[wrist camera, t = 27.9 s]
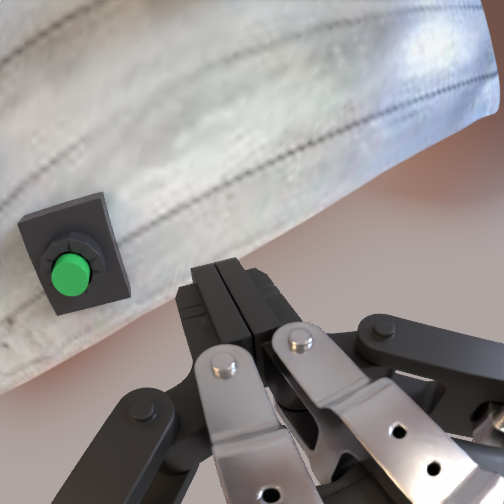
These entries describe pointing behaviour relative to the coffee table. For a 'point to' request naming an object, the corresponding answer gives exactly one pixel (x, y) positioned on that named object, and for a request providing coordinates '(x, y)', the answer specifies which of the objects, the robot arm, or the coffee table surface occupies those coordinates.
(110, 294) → the control box
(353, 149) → the coffee table surface
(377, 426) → the robot arm
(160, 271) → the coffee table surface
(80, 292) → the button
